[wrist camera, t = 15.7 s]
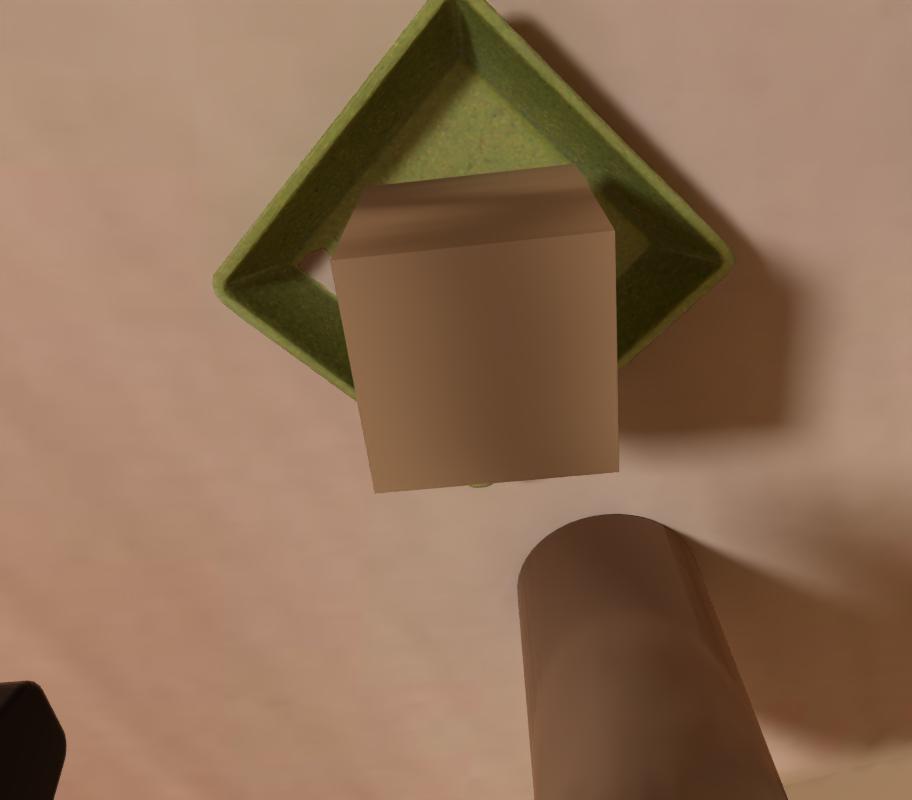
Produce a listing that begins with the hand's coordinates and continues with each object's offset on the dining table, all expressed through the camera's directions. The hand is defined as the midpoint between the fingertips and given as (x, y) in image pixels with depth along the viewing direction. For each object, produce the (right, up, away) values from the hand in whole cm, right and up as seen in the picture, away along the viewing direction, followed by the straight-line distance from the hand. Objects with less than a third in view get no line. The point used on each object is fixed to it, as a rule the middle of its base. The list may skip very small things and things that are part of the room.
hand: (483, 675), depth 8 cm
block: (0, +6, +10) cm, 12 cm away
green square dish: (0, +7, +12) cm, 14 cm away
